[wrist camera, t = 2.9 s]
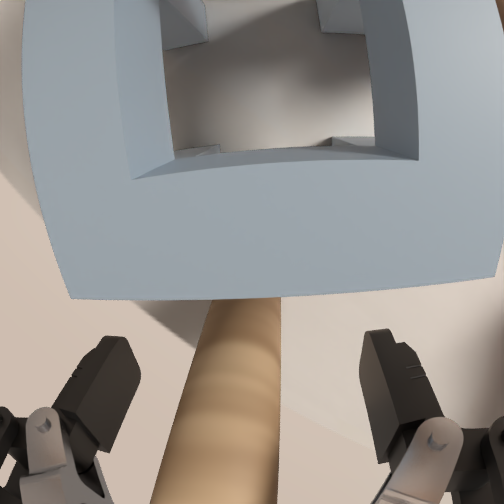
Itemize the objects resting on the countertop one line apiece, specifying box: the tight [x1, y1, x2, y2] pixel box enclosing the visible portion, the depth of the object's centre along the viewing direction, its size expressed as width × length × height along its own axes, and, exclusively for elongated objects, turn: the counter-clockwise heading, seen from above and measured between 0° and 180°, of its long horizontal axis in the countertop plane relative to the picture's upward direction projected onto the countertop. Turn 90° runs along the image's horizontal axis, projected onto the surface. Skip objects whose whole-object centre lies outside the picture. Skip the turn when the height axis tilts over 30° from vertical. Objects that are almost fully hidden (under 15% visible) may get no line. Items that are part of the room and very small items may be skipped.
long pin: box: [150, 297, 281, 504], centre depth 8 cm, size 3×3×12 cm
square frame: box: [22, 0, 504, 300], centre depth 6 cm, size 8×8×8 cm
